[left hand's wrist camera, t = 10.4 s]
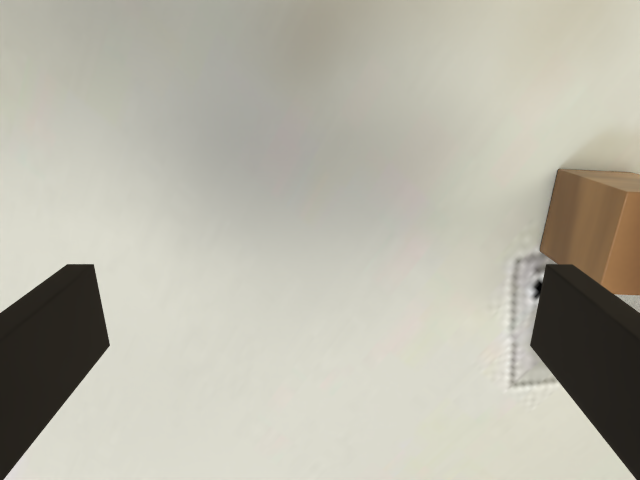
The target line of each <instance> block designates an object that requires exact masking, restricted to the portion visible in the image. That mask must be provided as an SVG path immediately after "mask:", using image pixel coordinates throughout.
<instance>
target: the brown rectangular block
mask: <svg viewBox="0 0 640 480" xmlns="http://www.w3.org/2000/svg"><path fill="white" fill-rule="evenodd" d="M540 251H541V252H542V253H543V254H545V255H546V256H547V257H549V258H550V259H552V260H553V261H554V262H556V263H557V264H573V265H574V266H576V267H577V268H578V269H580V270H581V271H582V272H584V273H585V274H587V275H588V276H589V277H591V278H592V279H593V280H595V281H596V282H598V283H599V284H600V285H602V286H603V287H604V288H606V289H607V290H609V291H610V292H611V293H613V294H622V295H640V175H639V174H635V173H631V172H611V171H590V170H569V169H559V170H558V173H557V177H556V182H555V186H554V190H553V195H552V199H551V203H550V208H549V212H548V217H547V221H546V225H545V230H544V234H543V238H542V243H541V247H540Z"/></svg>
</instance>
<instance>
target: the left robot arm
mask: <svg viewBox="0 0 640 480" xmlns="http://www.w3.org/2000/svg"><path fill="white" fill-rule="evenodd" d="M109 346H110V344H109V339H108V334H107V329H106V324H105V319H104V314H103V309H102V304H101V299H100V294H99V289H98V284H97V278H96V273H95V268H94V264H67V265H66V266H64V267H63V268H62V269H60V270H59V271H58V272H56V273H55V274H53V275H52V276H51V277H49V278H48V279H47V280H45V281H44V282H42V283H41V284H40V285H38V286H37V287H36V288H34V289H33V290H31V291H30V292H29V293H27V294H26V295H25V296H23V297H22V298H20V299H19V300H18V301H16V302H15V303H14V304H12V305H11V306H9V307H8V308H7V309H5V310H4V311H3V312H1V313H0V480H4V478H5V477H6V476H7V474H8V473H9V472H10V471H11V469H12V468H13V467H14V466H15V464H16V463H17V462H18V461H19V459H20V458H21V457H22V456H23V454H24V453H25V452H26V451H27V449H28V448H29V447H30V445H31V444H32V443H33V442H34V440H35V439H36V438H37V437H38V435H39V434H40V433H41V432H42V430H43V429H44V428H45V427H46V425H47V424H48V423H49V422H50V420H51V419H52V418H53V416H54V415H55V414H56V413H57V411H58V410H59V409H60V408H61V406H62V405H63V404H64V403H65V401H66V400H67V399H68V398H69V396H70V395H71V394H72V393H73V391H74V390H75V389H76V387H77V386H78V385H79V384H80V382H81V381H82V380H83V379H84V377H85V376H86V375H87V374H88V372H89V371H90V370H91V369H92V367H93V366H94V365H95V364H96V362H97V361H98V360H99V358H100V357H101V356H102V355H103V353H104V352H105V351H106V350H107V348H108V347H109ZM530 346H531V347H532V348H533V350H534V351H535V352H536V353H537V355H538V356H539V357H540V358H541V360H542V361H543V362H544V364H545V365H546V366H547V367H548V369H549V370H550V371H551V372H552V374H553V375H554V376H555V377H556V379H557V380H558V381H559V382H560V384H561V385H562V386H563V387H564V389H565V390H566V391H567V393H568V394H569V395H570V396H571V398H572V399H573V400H574V401H575V403H576V404H577V405H578V406H579V408H580V409H581V410H582V411H583V413H584V414H585V415H586V416H587V418H588V419H589V420H590V422H591V423H592V424H593V425H594V427H595V428H596V429H597V430H598V432H599V433H600V434H601V435H602V437H603V438H604V439H605V440H606V442H607V443H608V444H609V445H610V447H611V448H612V449H613V451H614V452H615V453H616V454H617V456H618V457H619V458H620V459H621V461H622V462H623V463H624V464H625V466H626V467H627V468H628V469H629V471H630V472H631V473H632V474H633V476H634V477H635V478H636V480H640V313H639V312H637V311H636V310H635V309H633V308H632V307H631V306H629V305H628V304H626V303H625V302H624V301H622V300H621V299H620V298H618V297H617V296H615V295H614V294H613V293H611V292H610V291H609V290H607V289H606V288H604V287H603V286H602V285H600V284H599V283H598V282H596V281H595V280H593V279H592V278H591V277H589V276H588V275H587V274H585V273H584V272H582V271H581V270H580V269H578V268H577V267H576V266H574V265H573V264H546V268H545V273H544V278H543V283H542V289H541V294H540V299H539V304H538V309H537V314H536V319H535V324H534V329H533V334H532V339H531V344H530Z"/></svg>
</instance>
